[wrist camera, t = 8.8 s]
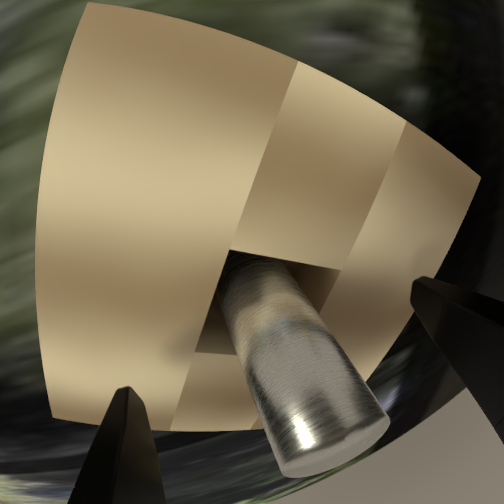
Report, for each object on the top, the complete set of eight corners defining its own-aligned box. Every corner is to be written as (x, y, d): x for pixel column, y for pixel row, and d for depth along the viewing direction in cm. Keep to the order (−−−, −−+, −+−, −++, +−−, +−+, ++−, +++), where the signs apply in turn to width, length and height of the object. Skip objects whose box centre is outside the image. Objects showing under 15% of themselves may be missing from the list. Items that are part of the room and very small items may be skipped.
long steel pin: (254, 282, 14) (350, 465, 7) (197, 274, 13) (263, 484, 6) (275, 230, 13) (410, 406, 6) (215, 217, 12) (318, 426, 5)
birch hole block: (307, 369, 19) (334, 419, 15) (63, 351, 13) (53, 417, 10) (418, 151, 13) (481, 177, 10) (111, 31, 8) (88, 2, 4)
